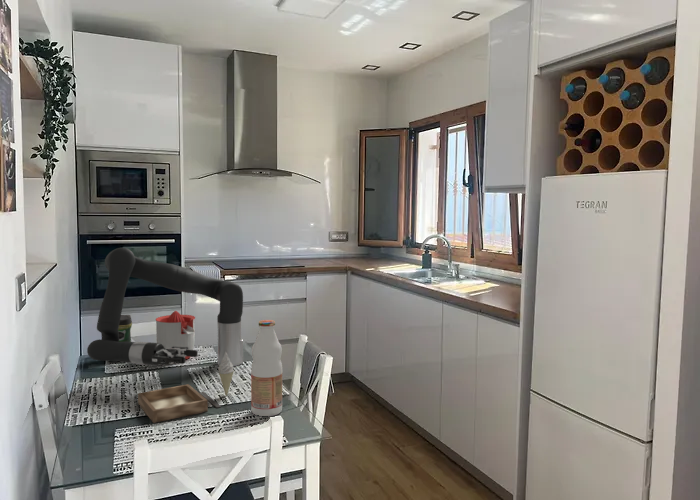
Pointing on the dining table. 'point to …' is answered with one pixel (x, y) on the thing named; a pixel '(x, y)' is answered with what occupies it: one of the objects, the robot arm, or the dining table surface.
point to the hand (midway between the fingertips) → (191, 356)
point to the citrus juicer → (176, 331)
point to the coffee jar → (124, 329)
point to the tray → (174, 402)
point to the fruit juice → (266, 372)
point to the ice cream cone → (226, 372)
